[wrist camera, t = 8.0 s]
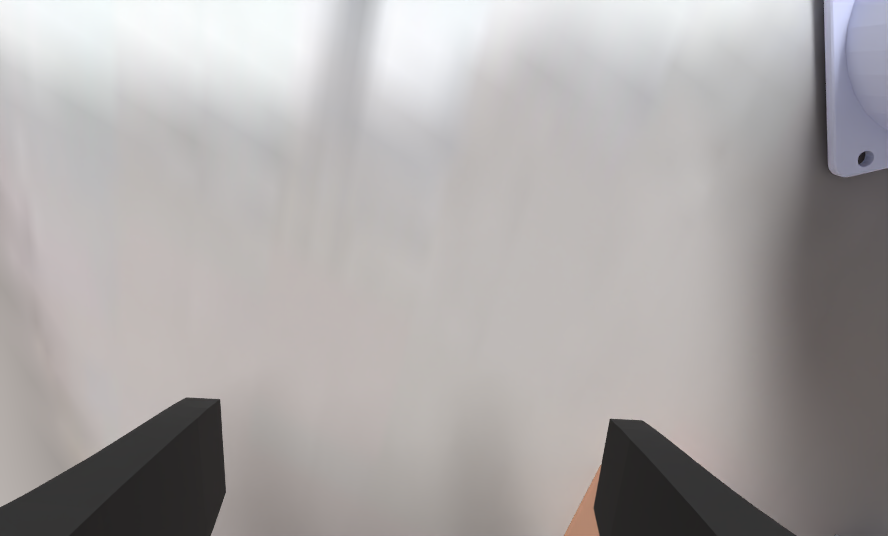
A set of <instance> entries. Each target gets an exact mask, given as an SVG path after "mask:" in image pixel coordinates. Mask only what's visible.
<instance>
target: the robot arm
mask: <svg viewBox="0 0 888 536" xmlns="http://www.w3.org/2000/svg"><path fill="white" fill-rule="evenodd" d="M824 25H825V65H826V105H827V145H828V167H829V170H830V171H831V172H832V173H833V174H835V175H837V176H841V177H852V176H856V175H860V174H865V173H869V172H873V171H877V170H882V169H886V168H888V0H824ZM864 151H865V154H866V156H865V159H864V161H863V162H862V163H860V164H858V157H859V155H860V154H861V153H862V152H864ZM225 493H226V487H225V471H224V455H223V439H222V422H221V406H220V399H204V398H185V399H183V400H181V401H179V402H177V403H176V404H174V405H172V406H171V407H169V408H167V409H166V410H164V411H162V412H161V413H159V414H158V415H156V416H154V417H153V418H151V419H150V420H148V421H147V422H145V423H143V424H142V425H140V426H139V427H137V428H136V429H134V430H133V431H131V432H129V433H128V434H126V435H125V436H123V437H121V438H120V439H118V440H117V441H115V442H113V443H112V444H110V445H109V446H107V447H105V448H104V449H102V450H101V451H99V452H97V453H96V454H94V455H93V456H91V457H89V458H88V459H86V460H84V461H82V462H81V463H79V464H77V465H75V466H74V467H72V468H70V469H68V470H67V471H65V472H63V473H62V474H60V475H58V476H56V477H55V478H53V479H51V480H49V481H48V482H46V483H44V484H42V485H41V486H39V487H37V488H35V489H34V490H32V491H30V492H29V493H27V494H25V495H23V496H21V497H19V498H17V499H16V500H14V501H12V502H10V503H8V504H6V505H4V506H2V507H0V536H211V533H212V530H213V528H214V525H215V522H216V519H217V516H218V514H219V511H220V508H221V505H222V502H223V499H224V496H225ZM593 509H594V513H595V518H596V522H597V527H598V531H599V536H796V535H795V534H793V533H792V532H790V531H789V530H787V529H786V528H784V527H783V526H782V525H780V524H779V523H777V522H776V521H774V520H773V519H772V518H770V517H769V516H767V515H766V514H764V513H763V512H762V511H760V510H759V509H757V508H756V507H754V506H753V505H752V504H750V503H749V502H748V501H746V500H745V499H744V498H742V497H741V496H740V495H738V494H737V493H736V492H734V491H733V490H732V489H730V488H729V487H728V486H726V485H725V484H724V483H722V482H721V481H720V480H719V479H717V478H716V477H715V476H713V475H712V474H711V473H710V472H708V471H707V470H706V469H705V468H703V467H702V466H701V465H699V464H698V463H697V462H696V461H694V460H693V459H692V458H691V457H689V456H688V455H687V454H686V453H684V452H683V451H682V450H681V449H679V448H678V447H677V446H676V445H674V444H673V443H672V442H671V441H669V440H668V439H667V438H666V437H664V436H663V435H662V434H660V433H659V432H658V431H656V430H655V429H654V428H652V427H651V426H650V425H648V424H647V423H645V422H644V421H642V420H623V419H610V422H609V427H608V432H607V438H606V443H605V448H604V454H603V459H602V465H601V470H600V475H599V481H598V486H597V491H596V497H595V502H594V508H593Z"/></svg>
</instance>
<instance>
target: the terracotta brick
mask: <svg viewBox="0 0 888 536" xmlns="http://www.w3.org/2000/svg"><path fill="white" fill-rule="evenodd" d="M600 470H601V465H600V467H599V469H598V471H597V473H596V475H595V477H594V479H593V481H592V483H591V485H590V487H589V488H588V490H587V492H586V494H585V496H584V498H583V500H582V502H581V504H580V506H579V508H578V510H577V512H576V514H575V515H574V517H573V519H572V521H571V523H570V525H569V527H568V529H567V531H566V533H565V535H564V536H599V531H598V527H597V522H596V518H595V513H594V509H593V508H594V502H595V497H596V491H597V486H598V481H599V475H600Z"/></svg>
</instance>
